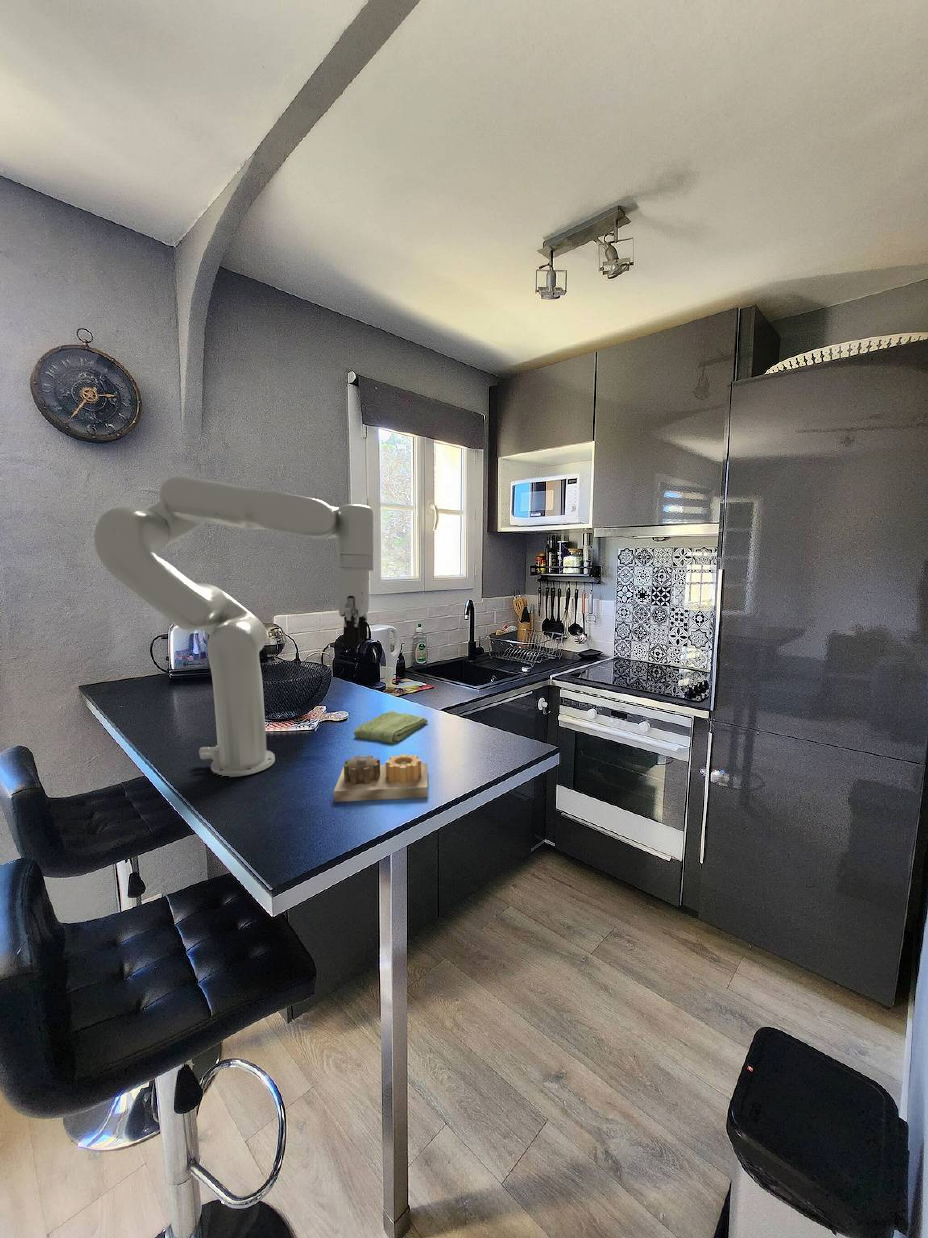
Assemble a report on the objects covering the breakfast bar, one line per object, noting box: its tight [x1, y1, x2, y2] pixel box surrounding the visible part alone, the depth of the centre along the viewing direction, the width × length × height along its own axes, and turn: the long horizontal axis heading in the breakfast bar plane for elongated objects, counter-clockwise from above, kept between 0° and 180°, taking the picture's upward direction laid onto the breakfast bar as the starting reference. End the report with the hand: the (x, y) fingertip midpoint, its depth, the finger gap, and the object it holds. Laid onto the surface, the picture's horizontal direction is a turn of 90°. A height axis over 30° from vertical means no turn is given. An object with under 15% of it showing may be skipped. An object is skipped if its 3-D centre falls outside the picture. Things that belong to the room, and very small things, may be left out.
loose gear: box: [385, 753, 422, 783], centre depth 97 cm, size 7×7×3 cm
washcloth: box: [353, 710, 429, 744], centre depth 129 cm, size 13×18×3 cm
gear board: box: [333, 755, 429, 803], centre depth 97 cm, size 17×11×6 cm, turn 94°
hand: (356, 642), depth 110 cm, fingers open, 9 cm apart
